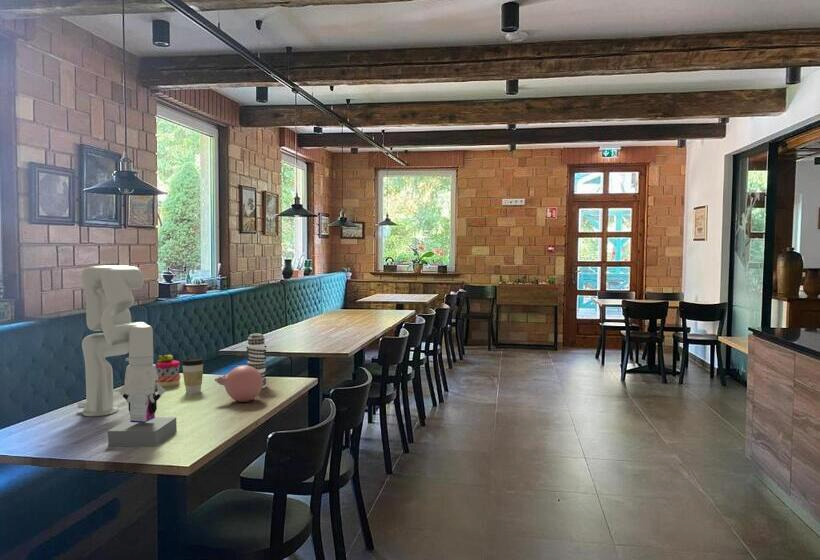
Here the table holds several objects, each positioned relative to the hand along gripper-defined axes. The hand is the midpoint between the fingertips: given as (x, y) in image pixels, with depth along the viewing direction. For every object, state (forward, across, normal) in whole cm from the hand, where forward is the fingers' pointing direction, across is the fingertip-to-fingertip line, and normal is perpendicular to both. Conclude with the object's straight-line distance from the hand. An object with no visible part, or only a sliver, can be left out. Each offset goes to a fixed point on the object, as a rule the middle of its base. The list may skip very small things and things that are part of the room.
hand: (142, 412), depth 202 cm
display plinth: (+9, 0, 0) cm, 9 cm away
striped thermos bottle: (+9, +17, +77) cm, 79 cm away
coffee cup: (+9, -9, +66) cm, 67 cm away
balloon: (+9, +17, +50) cm, 53 cm away
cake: (+10, -27, +81) cm, 86 cm away
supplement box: (+3, 0, 0) cm, 3 cm away
